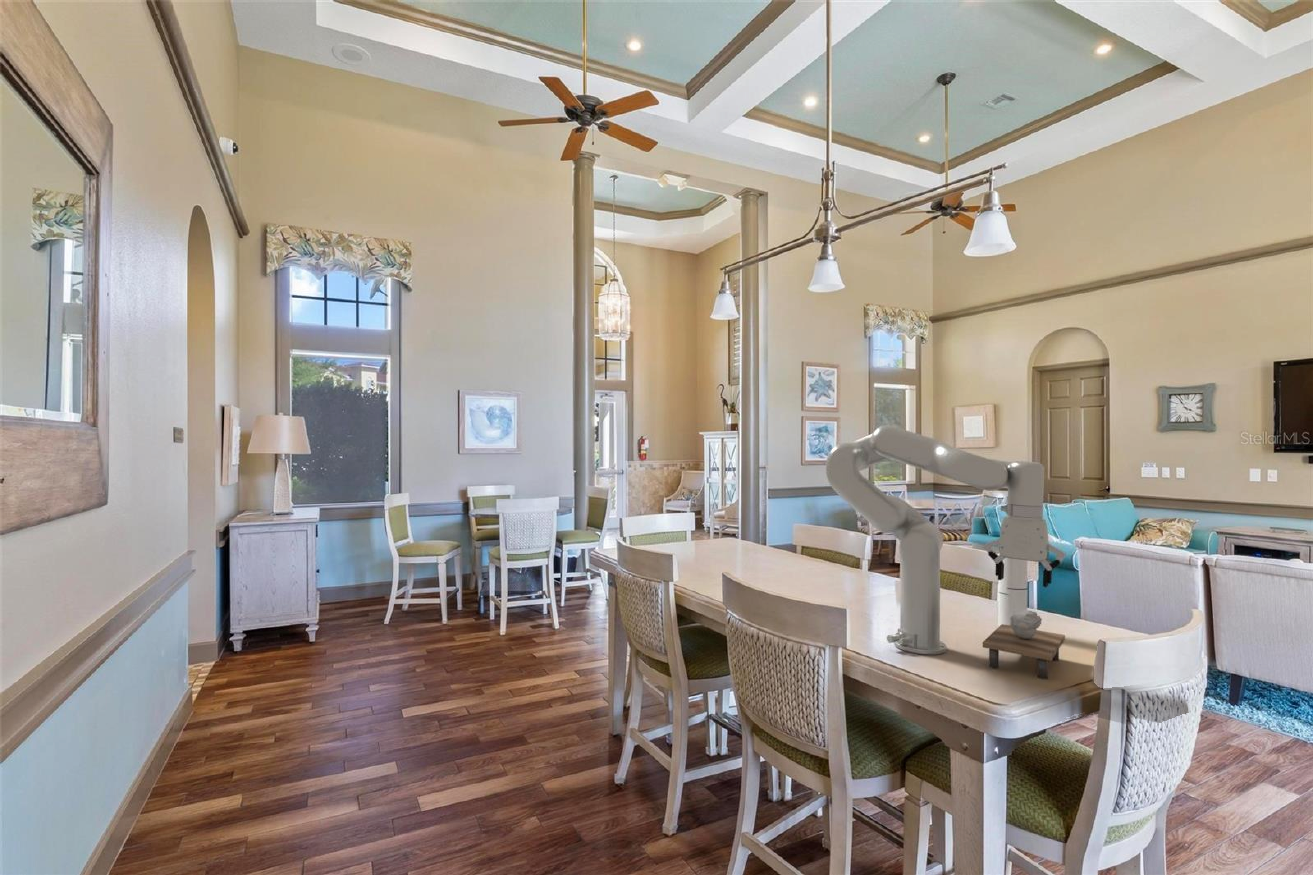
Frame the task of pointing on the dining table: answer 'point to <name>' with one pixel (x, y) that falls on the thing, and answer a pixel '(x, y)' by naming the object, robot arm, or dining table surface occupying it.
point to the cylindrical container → (1012, 590)
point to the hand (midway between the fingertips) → (1022, 582)
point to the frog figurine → (1025, 624)
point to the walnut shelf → (1024, 647)
